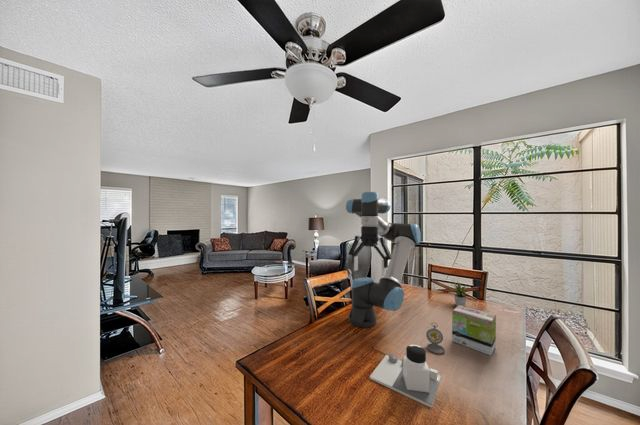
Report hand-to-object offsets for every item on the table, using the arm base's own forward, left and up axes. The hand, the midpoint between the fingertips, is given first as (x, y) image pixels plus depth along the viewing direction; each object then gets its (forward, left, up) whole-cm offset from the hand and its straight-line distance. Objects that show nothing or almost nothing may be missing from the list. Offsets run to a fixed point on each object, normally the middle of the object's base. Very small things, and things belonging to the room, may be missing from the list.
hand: (369, 272), depth 104 cm
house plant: (+27, +78, -32) cm, 88 cm away
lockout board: (+20, -13, -32) cm, 40 cm away
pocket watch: (+25, +14, -32) cm, 43 cm away
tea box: (+38, +28, -32) cm, 57 cm away
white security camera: (+24, -15, -31) cm, 42 cm away
